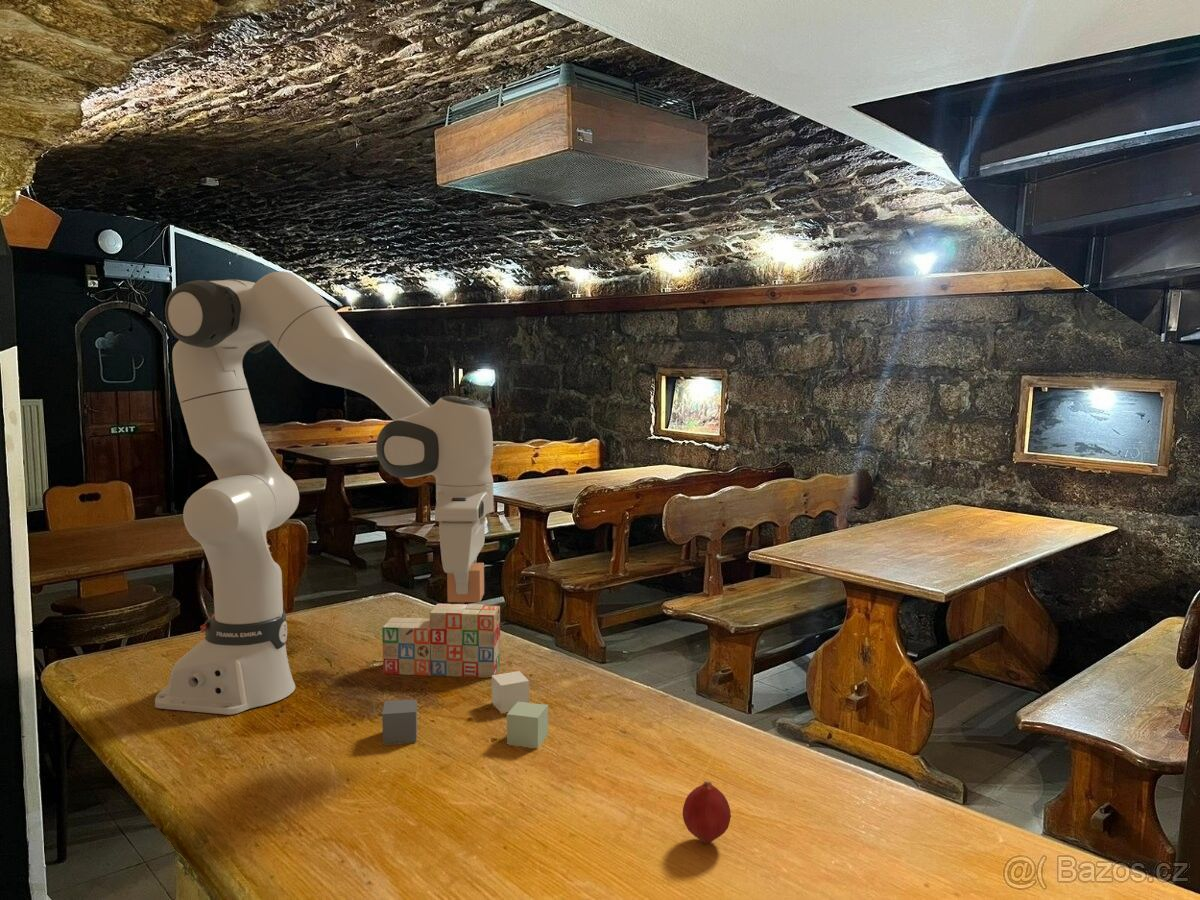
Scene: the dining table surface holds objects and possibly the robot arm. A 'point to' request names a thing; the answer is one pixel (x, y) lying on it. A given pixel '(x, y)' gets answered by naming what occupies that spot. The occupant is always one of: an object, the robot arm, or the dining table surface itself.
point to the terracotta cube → (474, 585)
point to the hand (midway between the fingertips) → (465, 587)
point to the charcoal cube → (399, 721)
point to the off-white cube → (509, 690)
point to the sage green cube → (527, 724)
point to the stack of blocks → (444, 642)
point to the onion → (706, 813)
